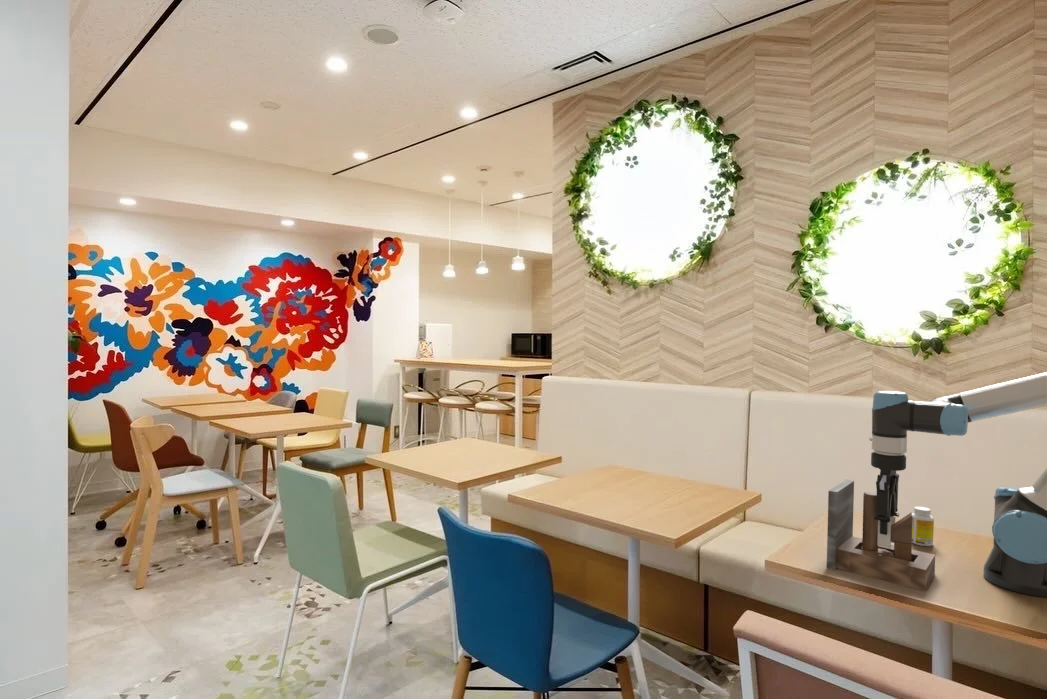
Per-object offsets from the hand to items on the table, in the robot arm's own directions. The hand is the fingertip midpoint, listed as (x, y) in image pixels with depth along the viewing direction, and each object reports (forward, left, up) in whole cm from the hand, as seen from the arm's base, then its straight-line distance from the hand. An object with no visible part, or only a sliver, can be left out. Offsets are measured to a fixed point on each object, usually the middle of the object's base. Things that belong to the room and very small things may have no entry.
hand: (886, 543), depth 148 cm
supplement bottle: (-3, -30, -7) cm, 31 cm away
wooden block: (0, 0, -6) cm, 6 cm away
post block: (0, 0, -7) cm, 7 cm away
